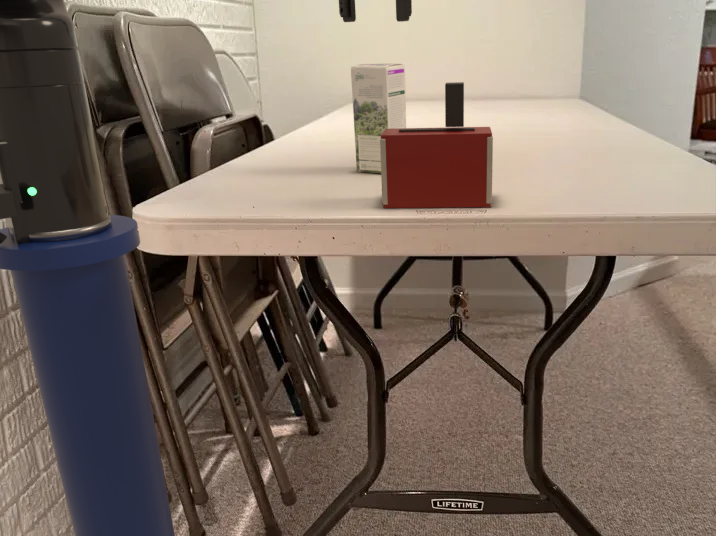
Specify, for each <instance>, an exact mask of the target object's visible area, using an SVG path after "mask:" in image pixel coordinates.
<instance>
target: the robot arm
mask: <svg viewBox="0 0 716 536" xmlns="http://www.w3.org/2000/svg"><path fill="white" fill-rule="evenodd" d="M412 1H413V0H395V19H396V22H398V23H399V22H401V23H403V22H409V21H410V17H412V13H413V6H412ZM338 10H339V11H338V14H339V17H340V18H342V22H344V23H355V22H356V21H357V14H356V13H357V12H356V0H338ZM86 88H87V87H86V83H85V77H84V72H83V66H82V61H81V54H80V49H79V44H78V38H77V32H76V27H75V23H74V21H73V19H72V17H71V15H70V14H69V11H68V9H67V6H66V4H65V1H64V0H0V220H4V219H5V223H6V227H7V228H8V232H9V234H10V235H11V238H12V239H14V240H15V242H16V243H17V244H24V243H32V242H56V241H64V240H71V239H78V238H82V237H87V236H91V235H95V234H98V233H101V232H103V231H105V230H107V229H109V228H110V227H111V226H112V223H111V217H110V215H111V214H110V212H109V210H110V209H109V205H108V202H107V196H106V191H105V186H104V179H103V175H102V169H101V164H100V159H99V154H98V153H99V152H98V148H97V143H96V137H95V132H94V126H93V121H92V116H91V110H90V106H89V105H90V104H89V100H88V93H87V89H86ZM6 238H7V236H5V235H4V234H2V233H1V232H0V244H1V243H2V242H3V241H4V240H5V239H6Z"/></svg>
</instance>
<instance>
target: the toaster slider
mask: <svg viewBox="0 0 716 536" xmlns="http://www.w3.org/2000/svg"><path fill="white" fill-rule="evenodd" d="M444 107H445V109H444V110H445V113H444V115H445V116H444V118H445V119H444V120H445V125H444V128H449V127H465V82H464V81H461V82H460V81H459V82H457V81H456V82H445V84H444Z"/></svg>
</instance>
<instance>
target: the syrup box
mask: <svg viewBox="0 0 716 536" xmlns="http://www.w3.org/2000/svg"><path fill="white" fill-rule="evenodd" d="M350 77H351V78H350V79H351V80H350V81H351V94H352V95H351V97H352V113H353V129H354V146H355V147H354V148H355V163H356V172H358V173H359V172H360V173H371V174H373V173H374V174H381V156H380V139H381V134H382V133H383V132H384V131H385V130H386V129H396V128H407V106H406V105H407V104H406V103H407V101H406V100H407V99H406V98H407V95H406V93H407V92H406V68H405V64H404V63H363V64H362V63H361V64H356V65H353V66H350Z"/></svg>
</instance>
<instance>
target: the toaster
mask: <svg viewBox="0 0 716 536" xmlns="http://www.w3.org/2000/svg"><path fill="white" fill-rule="evenodd" d="M493 151H494V136H493V132H492V129H491V126H464V127H406V128H396V129H386V130H385V131H384V132H383V133H382V134H381V139H380V156H381V173H380V178H381V179H380V181H381V182H380V183H381V204H382V205H383V207H382V208H383V209H417V208H418V209H428V208H429V209H433V208H491V207H492V204H493V161H494V159H493V158H494V157H493V153H494V152H493Z"/></svg>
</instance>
